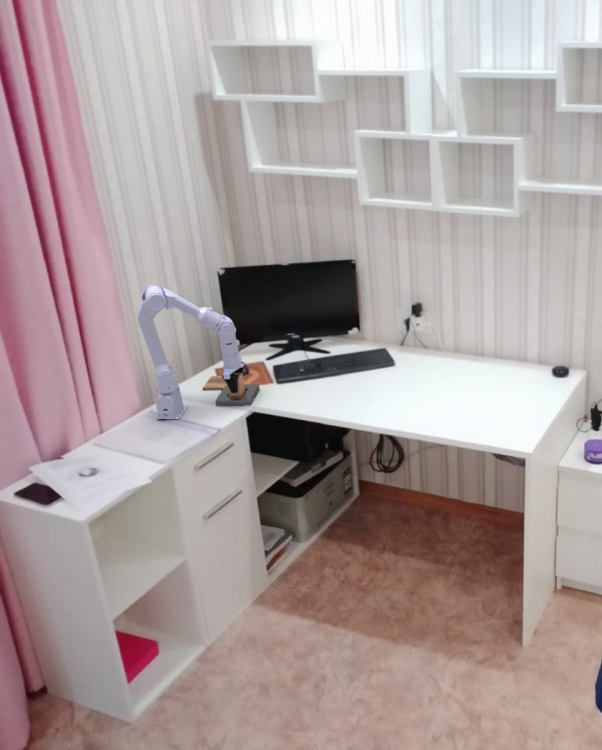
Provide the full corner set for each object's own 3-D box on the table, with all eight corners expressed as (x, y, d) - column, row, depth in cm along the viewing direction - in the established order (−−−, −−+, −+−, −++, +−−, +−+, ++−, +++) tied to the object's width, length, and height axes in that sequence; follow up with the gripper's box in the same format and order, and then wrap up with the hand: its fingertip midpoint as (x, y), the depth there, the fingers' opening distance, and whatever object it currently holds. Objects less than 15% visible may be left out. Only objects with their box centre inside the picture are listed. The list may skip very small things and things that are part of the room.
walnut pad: (229, 390, 305) (229, 387, 305) (202, 390, 308) (202, 388, 307) (237, 377, 314) (237, 375, 313) (211, 377, 316) (211, 375, 316)
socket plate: (250, 405, 292) (249, 400, 291) (216, 406, 295) (215, 400, 294) (259, 389, 302) (258, 384, 301) (226, 390, 305) (226, 384, 304)
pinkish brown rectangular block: (242, 399, 296) (238, 378, 293) (230, 399, 297) (226, 378, 294) (245, 393, 300) (242, 372, 296) (233, 394, 301) (230, 373, 298)
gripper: (235, 361, 284) (241, 398, 290) (247, 343, 297) (253, 379, 302) (214, 362, 286) (221, 399, 292) (228, 344, 299) (234, 379, 304)
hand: (236, 389), depth 297 cm, fingers closed on pinkish brown rectangular block, 4 cm apart
